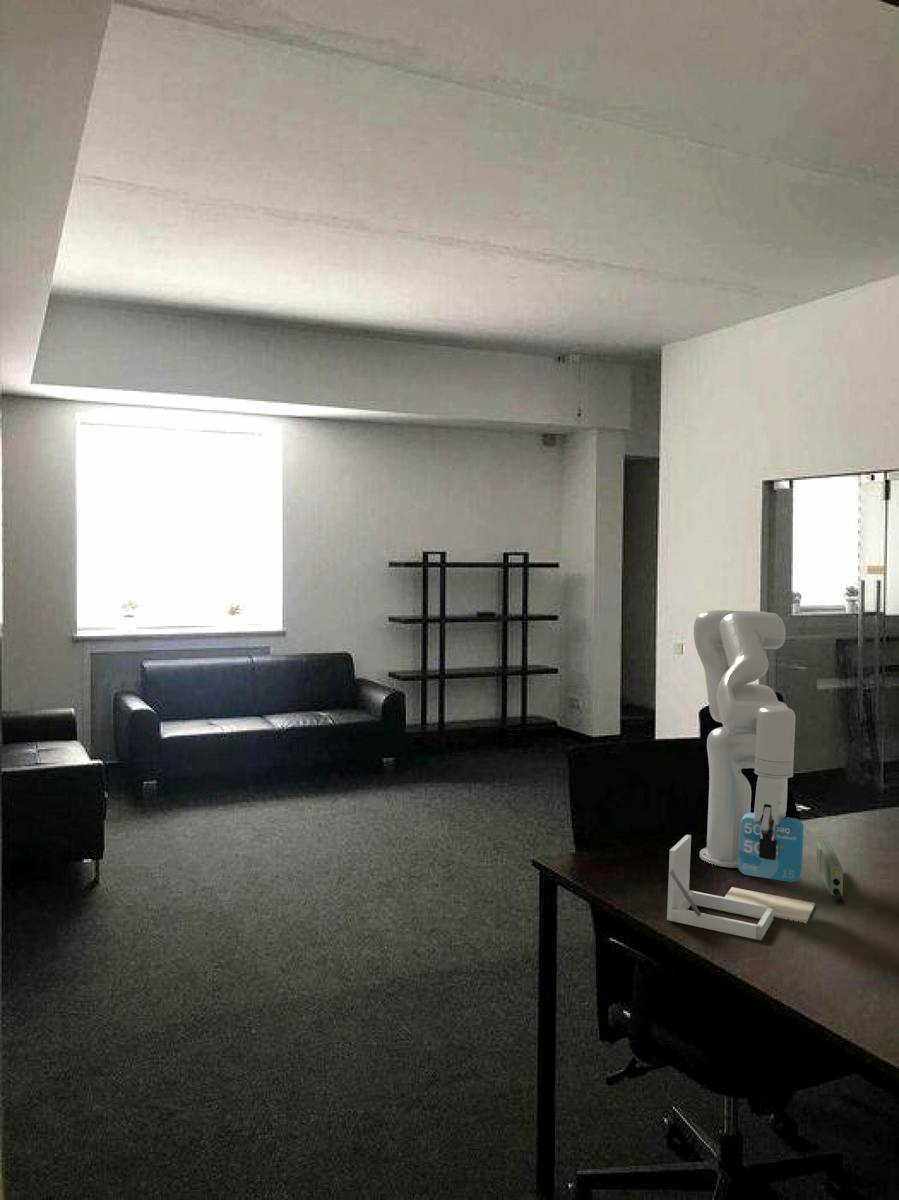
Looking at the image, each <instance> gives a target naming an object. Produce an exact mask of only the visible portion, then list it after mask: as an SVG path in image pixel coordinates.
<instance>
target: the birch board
mask: <svg viewBox="0 0 899 1200" xmlns="http://www.w3.org/2000/svg"><path fill="white" fill-rule="evenodd" d="M724 897H726V898H731V899H736V900H741V901H746V902H751V903H756V904H761V905H766V906H771V907H774V917H775V918H778V919H784V920H788V919H789V920H788V921H793V920H794V921H793V922H798V921H799V922H798V923H802V922H803V923H804V924H807V923H808V921H809V919H810V917H811V915H812V913H813V911H814V909H815V907H816V902H811V901H806V900H805V901H804V900H800V899H795V898H790V897H785V896H781V895H780V896H779V895H774V894H770V893H764V892H759V891H754V890H749V889H742V888H739V887H734V886H732V887H731V888H730V889H729V890H728V891H727V893H725V896H724Z"/></svg>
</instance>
